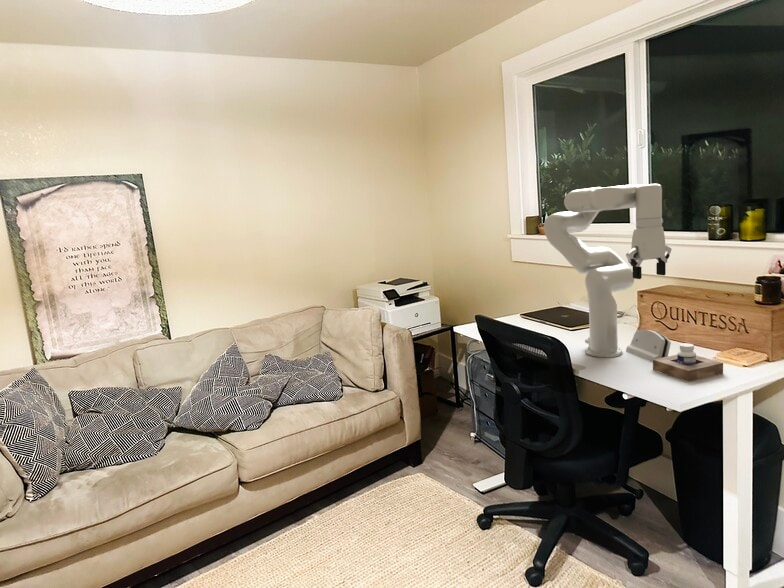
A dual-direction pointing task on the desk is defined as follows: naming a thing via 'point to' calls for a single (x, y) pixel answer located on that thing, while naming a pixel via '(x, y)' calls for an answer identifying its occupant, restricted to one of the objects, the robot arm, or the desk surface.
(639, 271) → the robot arm
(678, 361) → the pill bottle
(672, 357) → the socket block
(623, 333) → the desk surface
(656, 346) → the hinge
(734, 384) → the desk surface
